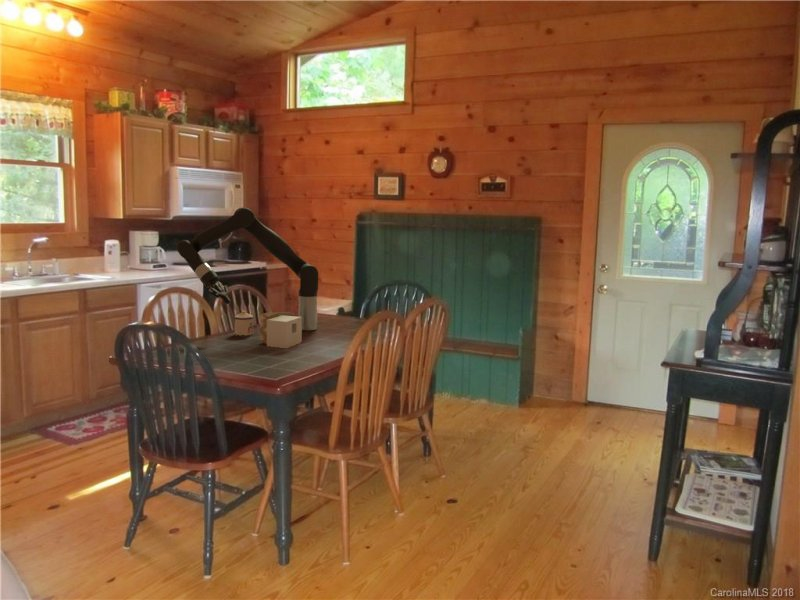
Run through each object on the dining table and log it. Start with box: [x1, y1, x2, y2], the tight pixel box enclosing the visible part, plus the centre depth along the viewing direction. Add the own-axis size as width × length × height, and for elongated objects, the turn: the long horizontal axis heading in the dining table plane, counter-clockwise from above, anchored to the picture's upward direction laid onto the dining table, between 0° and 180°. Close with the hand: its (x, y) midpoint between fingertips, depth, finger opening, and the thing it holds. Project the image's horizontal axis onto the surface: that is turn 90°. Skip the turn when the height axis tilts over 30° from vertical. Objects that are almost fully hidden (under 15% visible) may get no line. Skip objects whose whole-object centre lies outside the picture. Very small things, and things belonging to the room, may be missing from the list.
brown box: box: [259, 311, 296, 345], centre depth 298 cm, size 15×8×13 cm, turn 70°
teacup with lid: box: [233, 310, 254, 336], centre depth 319 cm, size 12×9×12 cm
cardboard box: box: [266, 315, 303, 349], centre depth 297 cm, size 10×14×12 cm
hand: (229, 302), depth 305 cm, fingers closed
